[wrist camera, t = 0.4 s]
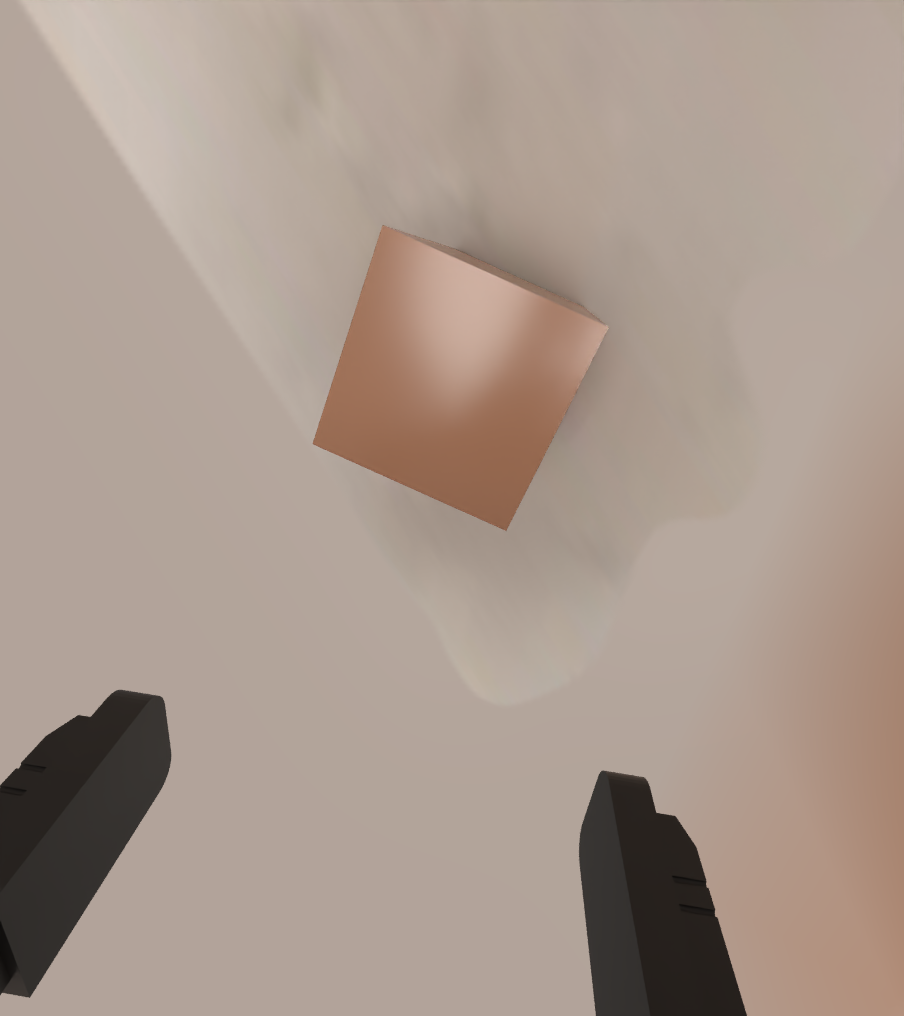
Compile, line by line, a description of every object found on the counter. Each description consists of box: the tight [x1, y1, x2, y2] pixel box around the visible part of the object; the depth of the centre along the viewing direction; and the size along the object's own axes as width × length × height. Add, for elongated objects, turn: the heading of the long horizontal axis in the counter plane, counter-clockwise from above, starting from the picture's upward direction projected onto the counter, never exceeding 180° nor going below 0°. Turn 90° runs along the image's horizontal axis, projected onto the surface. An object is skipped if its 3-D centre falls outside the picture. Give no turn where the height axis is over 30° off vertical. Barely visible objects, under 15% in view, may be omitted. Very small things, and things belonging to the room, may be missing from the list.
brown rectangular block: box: [313, 225, 609, 530], centre depth 22 cm, size 6×6×12 cm
